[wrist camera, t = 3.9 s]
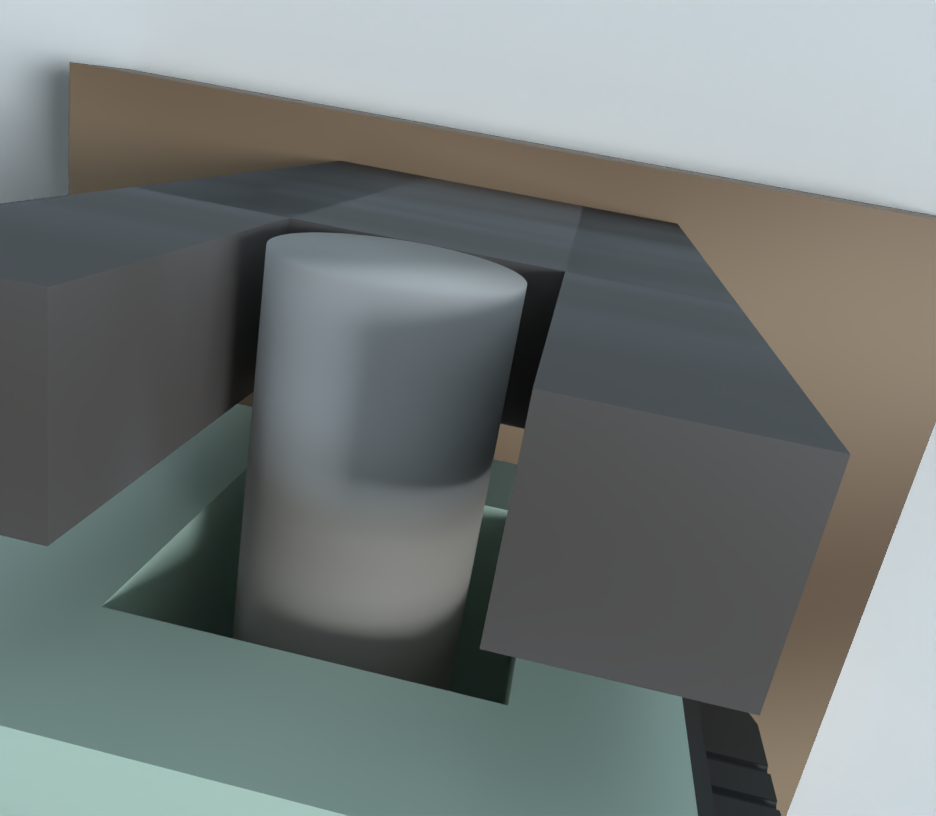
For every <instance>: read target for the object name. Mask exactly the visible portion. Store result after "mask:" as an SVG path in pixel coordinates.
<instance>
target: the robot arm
mask: <svg viewBox="0 0 936 816" xmlns="http://www.w3.org/2000/svg"><path fill="white" fill-rule="evenodd" d="M682 701H683V708H684V716H685V723H686V730H687V738H688V745H689V753H690V760H691V768H692V775H693V782H694V790H695V797H696V805H697V812H698V816H781V814H780V810H777V809H776V805H777V798H776V794H775V790H774V786H773V782H772V778H771V774H768V773H767V770H768V763H767V759H766V755H765V751H764V747H763V743H762V739H761V735H760V731H759V727H758V724H757V723H756V722H755V720H754V719H753V718H752V716H751V715H750V714H749V713H747V712H743V711H738V710H734V709H730V708H726V707H722V706H717V705H713V704H709V703H705V702H700V701H696V700H692V699H688V698H684V697H682Z"/></svg>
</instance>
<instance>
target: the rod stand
mask: <svg viewBox="0 0 936 816" xmlns="http://www.w3.org/2000/svg"><path fill="white" fill-rule="evenodd" d="M236 404H241V405H246V406H250V407H252V415H251V427H250V438H249V450H248V462H247V473H246V485H245V496H244V508H243V519H242V531H241V542H240V554H239V565H238V577H237V589H236V600H235V612H234V623H233V635H232V639H237V640H241V641H245V642H249V643H253V644H257V645H261V646H265V647H269V648H274V649H278V650H282V651H286V652H290V653H294V654H298V655H302V656H307V657H311V658H315V659H319V660H323V661H327V662H331V663H335V664H339V665H344V666H348V667H352V668H356V669H360V670H364V671H368V672H372V673H377V674H381V675H385V676H389V677H393V678H397V679H401V680H405V681H409V682H414V683H418V684H422V685H426V686H430V687H434V688H438V689H442V690H447V691H449V686H450V681H451V676H452V671H453V666H454V660H455V655H456V650H457V645H458V640H459V635H460V629H461V624H462V619H463V614H464V609H465V604H466V598H467V593H468V588H469V583H470V578H471V573H472V567H473V562H474V557H475V552H476V547H477V542H478V536H479V531H480V526H481V521H482V516H483V511H484V505H485V500H486V495H487V490H488V485H489V480H490V474H491V469H492V464H493V459H495V460H500V461H504V462H509V463H514V464H517V468H516V473H515V478H514V483H513V488H512V493H511V497H510V502H509V507H508V512H507V517H506V522H505V527H504V532H503V537H502V541H501V546H500V551H499V556H498V561H497V566H496V571H495V576H494V581H493V586H492V590H491V595H490V600H489V605H488V610H487V615H486V620H485V625H484V630H483V634H482V639H481V644H480V649H481V650H486V651H490V652H494V653H498V654H503V655H507V656H511V657H515V658H519V659H524V660H528V661H532V662H536V663H540V664H545V665H549V666H553V667H557V668H561V669H566V670H570V671H574V672H578V673H583V674H587V675H591V676H595V677H599V678H604V679H608V680H612V681H616V682H620V683H625V684H629V685H633V686H637V687H642V688H646V689H650V690H654V691H658V692H663V693H667V694H671V695H675V696H679V697H684V698H688V699H692V700H696V701H700V702H705V703H709V704H713V705H717V706H722V707H726V708H730V709H734V710H738V711H743V712H747V713H749V714H750V715H751V716H752V718H753V719H754V720H755V722H756V723H757V724H758V727H759V731H760V735H761V739H762V743H763V747H764V751H765V755H766V759H767V763H768V770H767V773H768V774H771V778H772V782H773V786H774V790H775V794H776V798H777V805H776V809H777V810H780V814H781V816H786V815H787V812H788V809H789V807H790V804H791V802H792V799H793V796H794V794H795V791H796V788H797V786H798V783H799V780H800V778H801V775H802V773H803V770H804V767H805V765H806V762H807V759H808V757H809V754H810V752H811V749H812V746H813V744H814V741H815V738H816V736H817V733H818V730H819V728H820V725H821V723H822V720H823V717H824V715H825V712H826V709H827V707H828V704H829V701H830V699H831V696H832V694H833V691H834V688H835V686H836V683H837V680H838V678H839V675H840V673H841V670H842V667H843V665H844V662H845V659H846V657H847V654H848V651H849V649H850V646H851V644H852V641H853V638H854V636H855V633H856V630H857V628H858V625H859V623H860V620H861V617H862V615H863V612H864V609H865V607H866V604H867V601H868V599H869V596H870V594H871V591H872V588H873V586H874V583H875V580H876V578H877V575H878V572H879V570H880V567H881V565H882V562H883V559H884V557H885V554H886V551H887V549H888V546H889V544H890V541H891V538H892V536H893V533H894V530H895V528H896V525H897V522H898V520H899V517H900V515H901V512H902V509H903V507H904V504H905V501H906V499H907V496H908V493H909V491H910V488H911V486H912V483H913V480H914V478H915V475H916V472H917V470H918V467H919V465H920V462H921V459H922V457H923V454H924V451H925V449H926V446H927V443H928V441H929V438H930V436H931V433H932V430H933V428H934V425H935V422H936V216H934V215H928V214H923V213H917V212H912V211H906V210H901V209H895V208H890V207H884V206H879V205H873V204H868V203H862V202H857V201H851V200H846V199H840V198H835V197H829V196H824V195H818V194H813V193H807V192H802V191H796V190H791V189H785V188H780V187H774V186H769V185H763V184H758V183H752V182H747V181H741V180H736V179H730V178H725V177H719V176H713V175H708V174H702V173H697V172H691V171H686V170H680V169H675V168H669V167H664V166H658V165H653V164H647V163H642V162H636V161H631V160H625V159H620V158H614V157H609V156H603V155H598V154H592V153H587V152H581V151H576V150H570V149H565V148H559V147H554V146H548V145H543V144H537V143H532V142H526V141H521V140H515V139H510V138H504V137H499V136H493V135H488V134H482V133H477V132H471V131H466V130H460V129H455V128H449V127H444V126H438V125H433V124H427V123H422V122H416V121H411V120H405V119H400V118H394V117H388V116H383V115H377V114H372V113H366V112H361V111H355V110H350V109H344V108H339V107H333V106H328V105H322V104H317V103H311V102H306V101H300V100H295V99H289V98H284V97H278V96H273V95H267V94H262V93H256V92H251V91H245V90H240V89H234V88H229V87H223V86H218V85H212V84H207V83H201V82H196V81H190V80H185V79H179V78H174V77H168V76H163V75H157V74H152V73H146V72H141V71H135V70H130V69H121V68H113V67H105V66H97V65H88V64H80V63H72V62H70V90H69V195H66V196H58V197H50V198H42V199H34V200H26V201H18V202H10V203H2V204H0V535H1V536H6V537H10V538H14V539H18V540H22V541H27V542H31V543H35V544H39V545H44V546H49V545H50V544H51V543H53V542H54V541H55V540H57V539H58V538H59V537H61V536H62V535H63V534H65V533H66V532H67V531H69V530H70V529H71V528H73V527H74V526H75V525H77V524H78V523H79V522H81V521H82V520H83V519H85V518H86V517H87V516H89V515H90V514H91V513H93V512H94V511H95V510H97V509H98V508H99V507H101V506H102V505H103V504H105V503H106V502H107V501H109V500H110V499H111V498H113V497H114V496H115V495H117V494H118V493H119V492H121V491H122V490H123V489H125V488H126V487H127V486H129V485H130V484H131V483H133V482H134V481H135V480H137V479H138V478H139V477H141V476H142V475H143V474H145V473H146V472H147V471H149V470H150V469H151V468H153V467H154V466H155V465H157V464H158V463H159V462H161V461H162V460H163V459H165V458H166V457H167V456H169V455H170V454H171V453H173V452H174V451H175V450H177V449H178V448H179V447H181V446H182V445H183V444H185V443H186V442H187V441H189V440H190V439H191V438H193V437H194V436H195V435H196V434H198V433H199V432H200V431H202V430H203V429H204V428H206V427H207V426H208V425H210V424H211V423H212V422H214V421H215V420H216V419H218V418H219V417H220V416H222V415H223V414H224V413H226V412H227V411H228V410H230V409H231V408H232V407H234V406H235V405H236Z"/></svg>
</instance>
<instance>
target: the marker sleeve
mask: <svg viewBox="0 0 936 816" xmlns="http://www.w3.org/2000/svg"><path fill="white" fill-rule="evenodd" d="M251 415H252V407H250V406H246V405H241V404H236V405H235V406H234V407H232V408H231V409H230V410H228V411H227V412H226V413H224V414H223V415H222V416H220V417H219V418H218V419H216V420H215V421H214V422H212V423H211V424H210V425H208V426H207V427H206V428H204V429H203V430H202V431H200V432H199V433H198V434H196V435H195V436H194V437H193V438H191V439H190V440H189V441H187V442H186V443H185V444H183V445H182V446H181V447H179V448H178V449H177V450H175V451H174V452H173V453H171V454H170V455H169V456H167V457H166V458H165V459H163V460H162V461H161V462H159V463H158V464H157V465H155V466H154V467H153V468H151V469H150V470H149V471H147V472H146V473H145V474H143V475H142V476H141V477H139V478H138V479H137V480H135V481H134V482H133V483H131V484H130V485H129V486H127V487H126V488H125V489H123V490H122V491H121V492H119V493H118V494H117V495H115V496H114V497H113V498H111V499H110V500H109V501H107V502H106V503H105V504H103V505H102V506H101V507H99V508H98V509H97V510H95V511H94V512H93V513H91V514H90V515H89V516H87V517H86V518H85V519H83V520H82V521H81V522H79V523H78V524H77V525H75V526H74V527H73V528H71V529H70V530H69V531H67V532H66V533H65V534H63V535H62V536H61V537H59V538H58V539H57V540H55V541H54V542H53V543H51V544H50V545H49V546H44V545H39V544H35V543H31V542H27V541H22V540H18V539H14V538H10V537H6V536H1V535H0V816H698V812H697V805H696V797H695V790H694V782H693V775H692V768H691V760H690V753H689V745H688V738H687V730H686V723H685V716H684V708H683V701H682V697H679V696H675V695H671V694H667V693H663V692H658V691H654V690H650V689H646V688H642V687H637V686H633V685H629V684H625V683H620V682H616V681H612V680H608V679H604V678H599V677H595V676H591V675H587V674H583V673H578V672H574V671H570V670H566V669H561V668H557V667H553V666H549V665H545V664H540V663H536V662H532V661H528V660H524V659H519V658H515V657H511V656H507V655H503V654H498V653H494V652H490V651H486V650H481V649H480V644H481V639H482V634H483V630H484V625H485V620H486V615H487V610H488V605H489V600H490V595H491V590H492V586H493V581H494V576H495V571H496V566H497V561H498V556H499V551H500V546H501V541H502V537H503V532H504V527H505V522H506V517H507V512H508V507H509V502H510V497H511V493H512V488H513V483H514V478H515V473H516V468H517V464H514V463H509V462H504V461H500V460H495V459H493V464H492V469H491V474H490V480H489V485H488V490H487V495H486V500H485V505H484V511H483V516H482V521H481V526H480V531H479V536H478V542H477V547H476V552H475V557H474V562H473V567H472V573H471V578H470V583H469V588H468V593H467V598H466V604H465V609H464V614H463V619H462V624H461V629H460V635H459V640H458V645H457V650H456V655H455V660H454V666H453V671H452V676H451V681H450V686H449V691H447V690H442V689H438V688H434V687H430V686H426V685H422V684H418V683H414V682H409V681H405V680H401V679H397V678H393V677H389V676H385V675H381V674H377V673H372V672H368V671H364V670H360V669H356V668H352V667H348V666H344V665H339V664H335V663H331V662H327V661H323V660H319V659H315V658H311V657H307V656H302V655H298V654H294V653H290V652H286V651H282V650H278V649H274V648H269V647H265V646H261V645H257V644H253V643H249V642H245V641H241V640H237V639H232V635H233V623H234V612H235V600H236V589H237V577H238V565H239V554H240V542H241V531H242V519H243V508H244V496H245V485H246V473H247V462H248V450H249V438H250V427H251Z"/></svg>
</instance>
